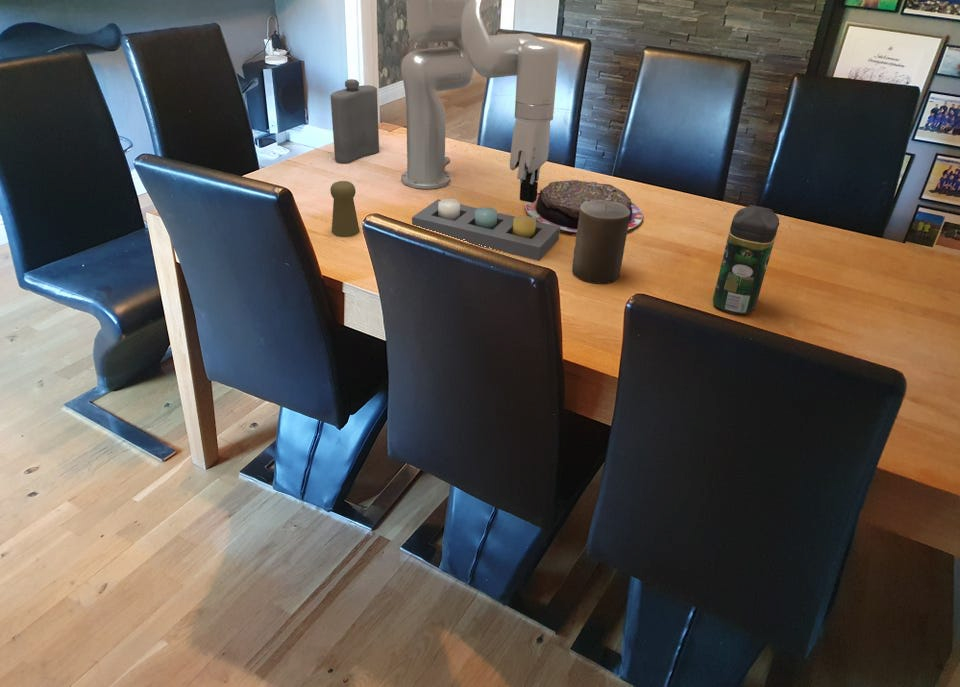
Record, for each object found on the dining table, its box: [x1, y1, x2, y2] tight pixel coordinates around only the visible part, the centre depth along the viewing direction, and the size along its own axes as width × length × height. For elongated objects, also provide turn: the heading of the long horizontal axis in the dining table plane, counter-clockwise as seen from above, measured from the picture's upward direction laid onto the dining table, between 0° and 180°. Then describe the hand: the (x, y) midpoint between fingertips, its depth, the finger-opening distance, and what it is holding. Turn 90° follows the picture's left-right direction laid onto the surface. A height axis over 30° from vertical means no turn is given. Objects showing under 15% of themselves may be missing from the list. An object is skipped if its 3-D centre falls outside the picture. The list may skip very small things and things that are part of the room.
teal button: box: [475, 206, 498, 230], centre depth 155 cm, size 5×5×3 cm
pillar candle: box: [571, 200, 630, 284], centre depth 140 cm, size 10×10×15 cm
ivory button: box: [438, 198, 461, 221], centre depth 158 cm, size 5×5×3 cm
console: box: [411, 198, 561, 261], centre depth 156 cm, size 12×30×3 cm, turn 65°
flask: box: [329, 78, 380, 165], centre depth 191 cm, size 15×6×20 cm, turn 144°
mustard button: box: [512, 215, 536, 239], centre depth 151 cm, size 5×5×3 cm
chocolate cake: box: [524, 179, 644, 236], centre depth 168 cm, size 28×28×7 cm
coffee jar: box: [712, 204, 781, 315], centre depth 130 cm, size 10×8×19 cm
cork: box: [329, 180, 361, 238], centre depth 152 cm, size 6×6×11 cm
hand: (528, 200), depth 148 cm, fingers closed
